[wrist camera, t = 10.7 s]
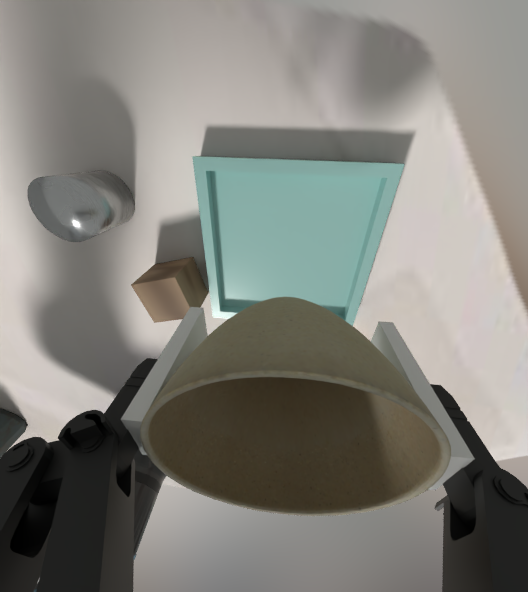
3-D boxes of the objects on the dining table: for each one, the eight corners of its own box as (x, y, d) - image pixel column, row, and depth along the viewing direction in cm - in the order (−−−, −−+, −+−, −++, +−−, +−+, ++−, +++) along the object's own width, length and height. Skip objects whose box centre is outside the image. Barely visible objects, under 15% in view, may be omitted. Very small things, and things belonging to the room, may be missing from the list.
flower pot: (346, 389, 16) (379, 529, 10) (210, 371, 17) (165, 497, 11) (405, 264, 11) (552, 411, 5) (199, 241, 11) (92, 350, 5)
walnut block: (173, 298, 29) (154, 322, 25) (155, 263, 27) (131, 284, 23) (208, 292, 28) (194, 317, 24) (193, 256, 26) (174, 277, 22)
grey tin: (96, 221, 25) (47, 240, 20) (77, 169, 22) (14, 175, 17) (140, 224, 24) (102, 243, 19) (126, 171, 22) (77, 178, 16)
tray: (217, 307, 30) (212, 317, 28) (200, 155, 20) (192, 156, 19) (348, 317, 28) (351, 328, 27) (394, 162, 19) (404, 164, 18)
